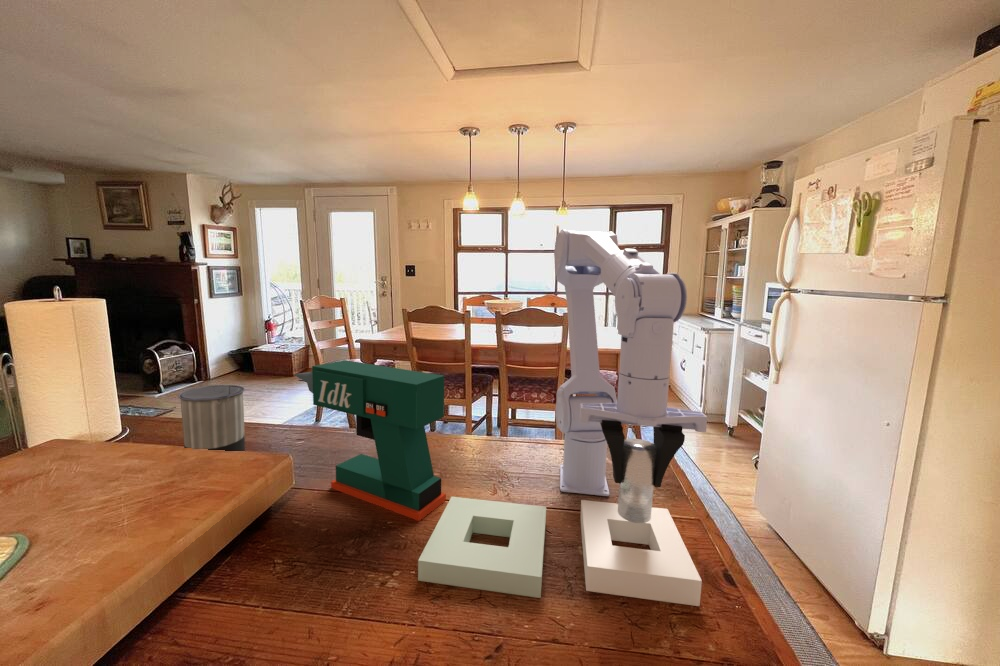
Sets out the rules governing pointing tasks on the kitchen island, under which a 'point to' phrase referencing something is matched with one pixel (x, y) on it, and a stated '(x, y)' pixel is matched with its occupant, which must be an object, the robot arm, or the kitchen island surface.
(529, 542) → the socket block
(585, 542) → the cream square-hole board
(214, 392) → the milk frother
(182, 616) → the kitchen island surface
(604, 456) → the robot arm
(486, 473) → the kitchen island surface
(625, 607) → the kitchen island surface
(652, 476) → the steel peg
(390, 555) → the kitchen island surface
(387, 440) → the power tool
